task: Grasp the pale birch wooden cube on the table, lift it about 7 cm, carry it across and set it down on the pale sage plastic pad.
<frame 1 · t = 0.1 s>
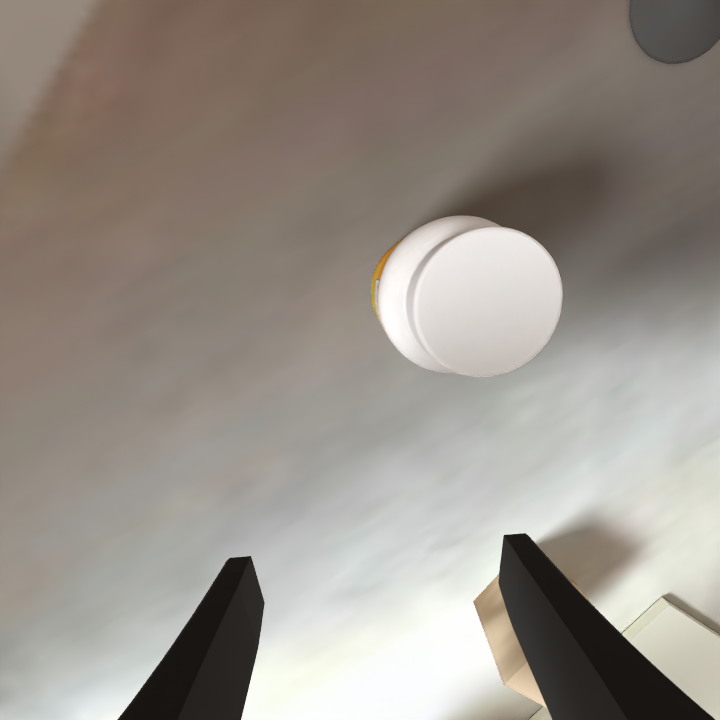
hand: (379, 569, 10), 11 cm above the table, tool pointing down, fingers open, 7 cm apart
cube: (524, 592, 23), on the table
sundae: (677, 4, 16), on the table
supplement bottle: (419, 290, 19), on the table
pad: (657, 715, 26), on the table
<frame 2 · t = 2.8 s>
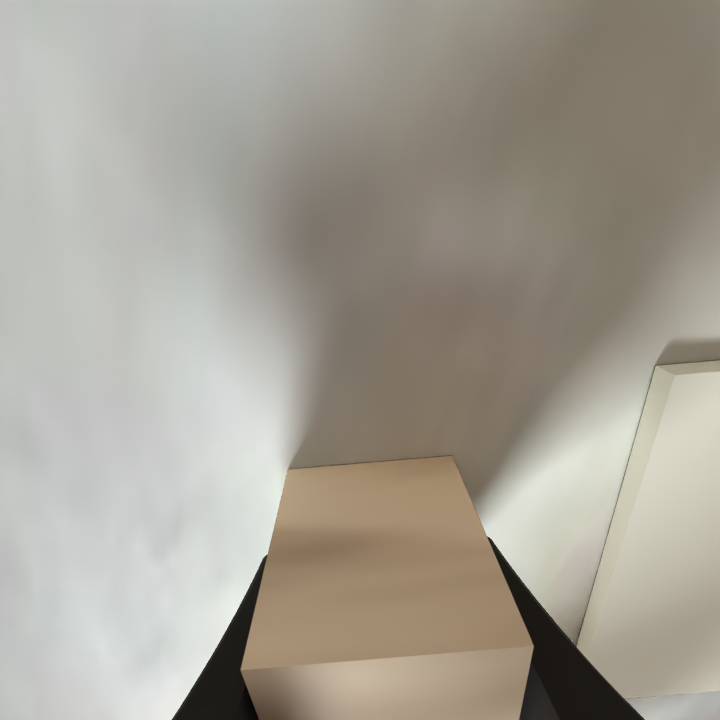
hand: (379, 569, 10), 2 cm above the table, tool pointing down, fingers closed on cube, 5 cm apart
cube: (375, 523, 11), on the table, touching gripper
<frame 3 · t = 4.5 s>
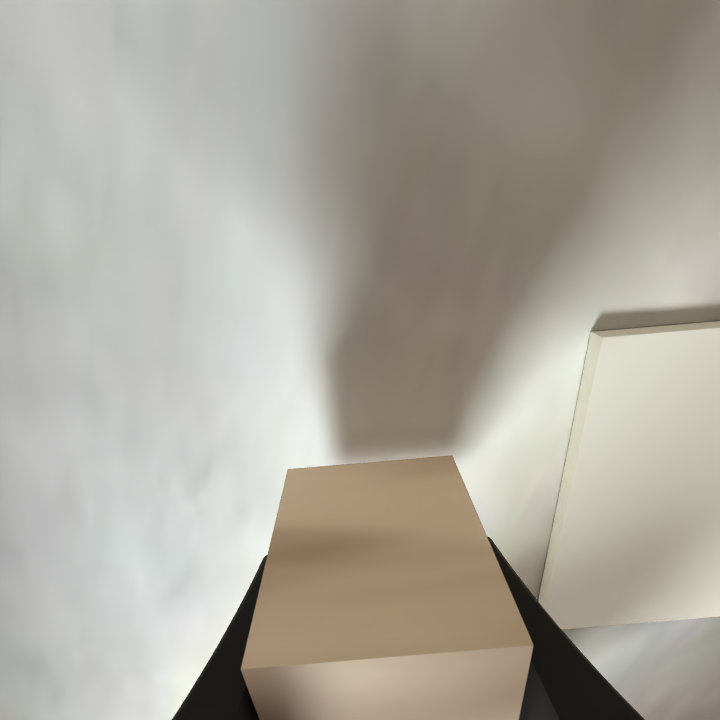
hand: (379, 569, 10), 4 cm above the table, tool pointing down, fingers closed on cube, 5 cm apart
cube: (375, 522, 11), point 3 cm above the table, touching gripper
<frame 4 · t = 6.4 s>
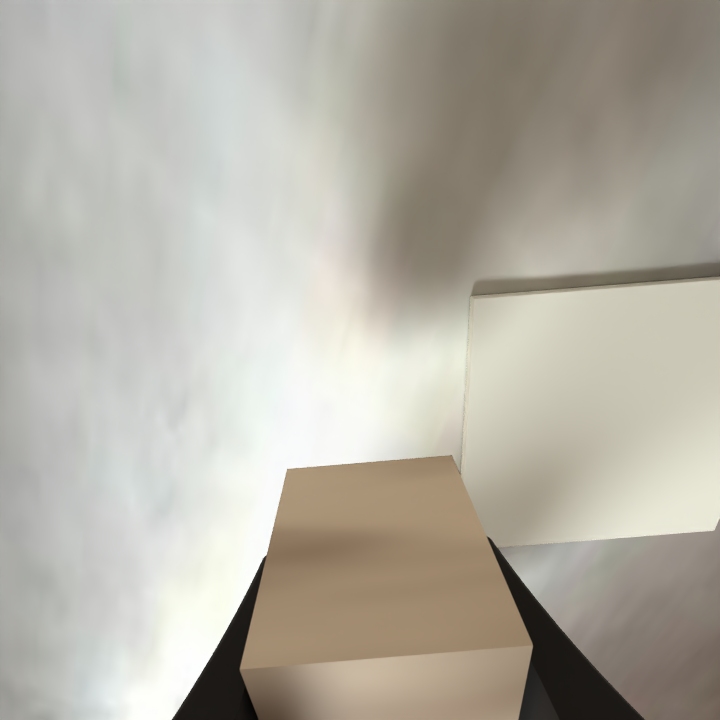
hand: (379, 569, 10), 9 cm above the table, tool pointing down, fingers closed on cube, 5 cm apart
cube: (374, 522, 11), point 7 cm above the table, touching gripper
pad: (607, 428, 19), on the table
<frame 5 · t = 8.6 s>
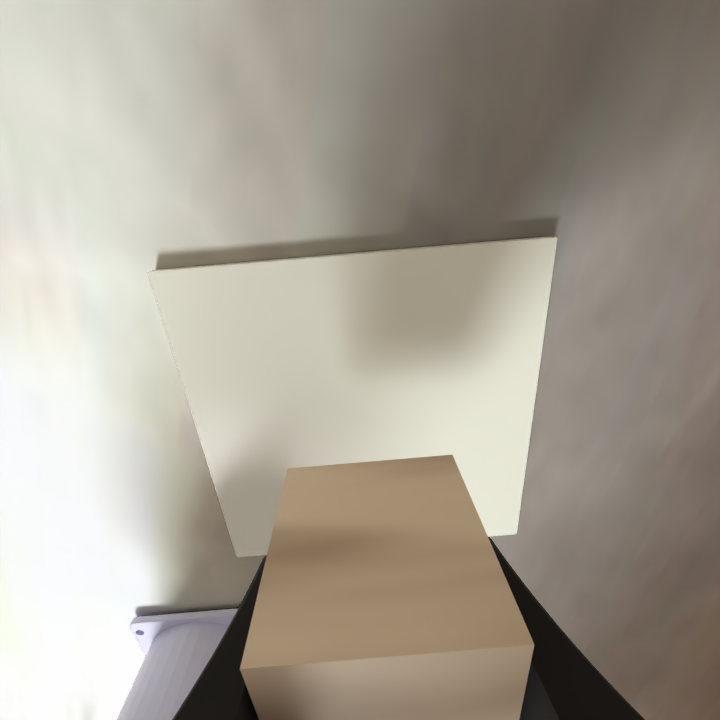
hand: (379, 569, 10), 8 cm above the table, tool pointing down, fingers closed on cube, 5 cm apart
cube: (374, 522, 11), point 6 cm above the table, touching gripper
pad: (366, 420, 17), on the table
when the fingers open (3 cm above the table, at t = 10.4 s): cube stays where it is, resting on pad.
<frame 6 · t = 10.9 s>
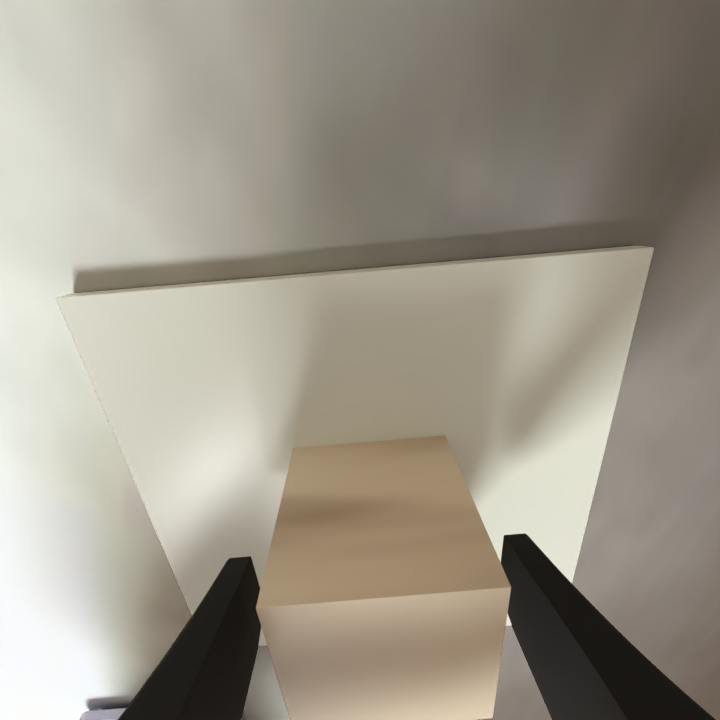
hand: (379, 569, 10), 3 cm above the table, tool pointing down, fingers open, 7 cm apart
cube: (373, 499, 12), point 1 cm above the table, touching pad
pad: (372, 488, 13), on the table
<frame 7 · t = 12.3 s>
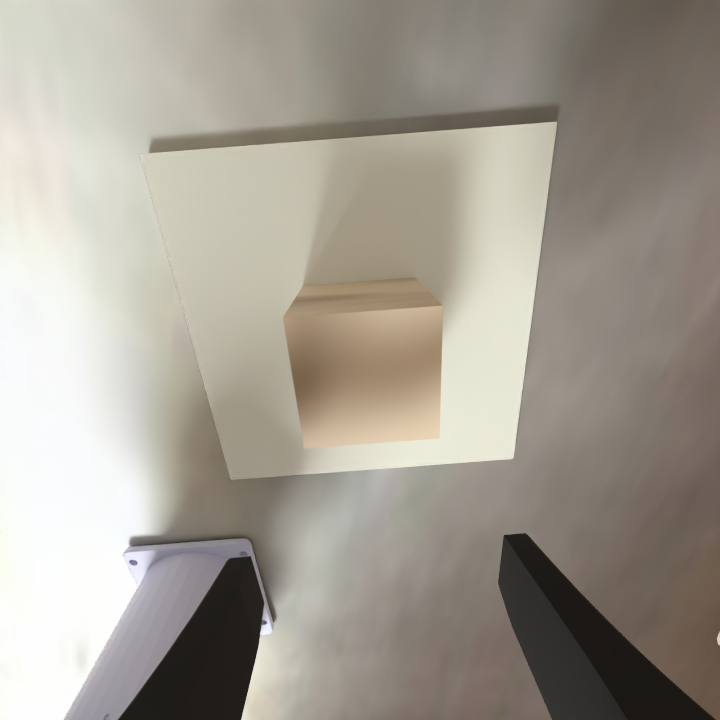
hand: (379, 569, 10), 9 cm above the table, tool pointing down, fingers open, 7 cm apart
cube: (362, 334, 16), point 1 cm above the table, touching pad
pad: (361, 331, 17), on the table
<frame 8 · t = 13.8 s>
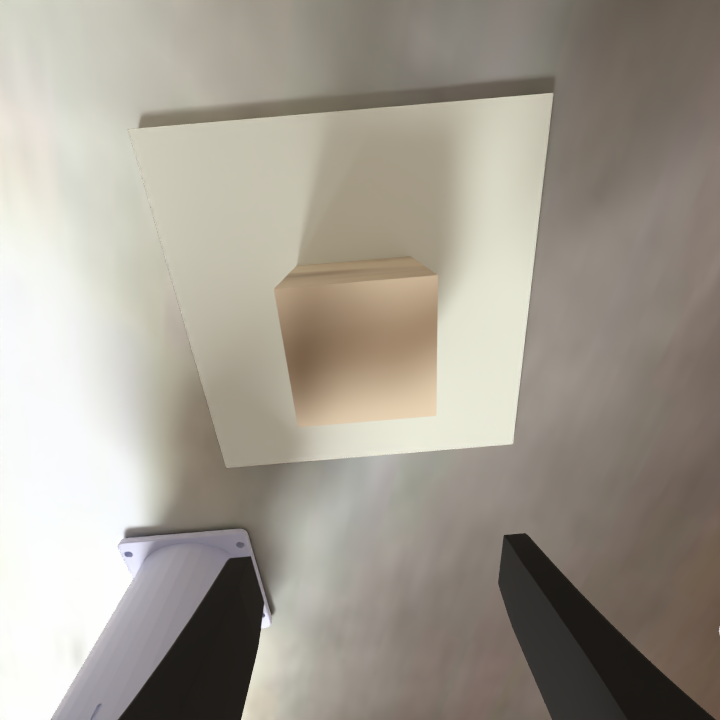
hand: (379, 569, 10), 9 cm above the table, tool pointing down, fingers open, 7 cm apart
cube: (358, 316, 16), point 1 cm above the table, touching pad
pad: (357, 313, 17), on the table
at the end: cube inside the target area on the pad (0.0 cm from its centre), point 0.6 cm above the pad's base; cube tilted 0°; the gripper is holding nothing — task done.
